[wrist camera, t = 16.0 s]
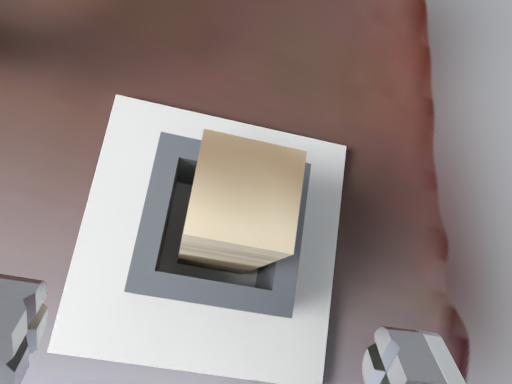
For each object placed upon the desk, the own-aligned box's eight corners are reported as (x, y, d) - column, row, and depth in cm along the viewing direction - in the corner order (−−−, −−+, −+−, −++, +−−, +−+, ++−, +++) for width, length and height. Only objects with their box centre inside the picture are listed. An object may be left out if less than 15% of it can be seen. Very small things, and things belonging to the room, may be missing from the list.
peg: (240, 274, 27) (293, 254, 15) (176, 263, 26) (182, 234, 15) (250, 212, 28) (307, 151, 17) (189, 200, 27) (204, 128, 16)
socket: (316, 386, 27) (355, 409, 21) (51, 350, 25) (16, 365, 19) (341, 150, 31) (379, 117, 26) (117, 101, 29) (105, 52, 23)
